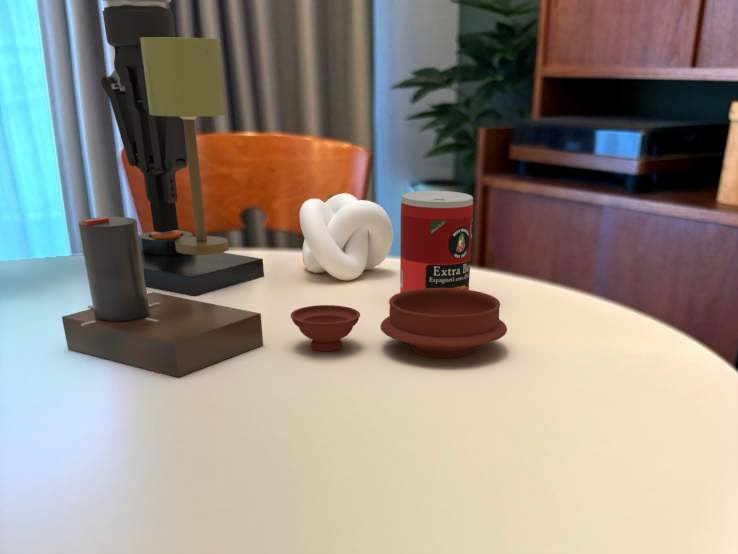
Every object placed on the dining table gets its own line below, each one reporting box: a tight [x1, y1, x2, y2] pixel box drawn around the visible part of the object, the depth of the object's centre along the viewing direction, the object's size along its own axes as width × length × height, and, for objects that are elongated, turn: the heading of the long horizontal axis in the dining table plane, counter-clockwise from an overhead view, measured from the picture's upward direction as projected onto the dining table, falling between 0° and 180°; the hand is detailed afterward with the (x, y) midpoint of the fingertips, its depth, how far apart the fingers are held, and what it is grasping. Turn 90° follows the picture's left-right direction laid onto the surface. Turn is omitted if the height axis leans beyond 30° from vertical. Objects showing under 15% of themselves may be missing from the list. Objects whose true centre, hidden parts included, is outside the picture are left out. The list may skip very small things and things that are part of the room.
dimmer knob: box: [77, 216, 150, 321], centre depth 73 cm, size 5×5×8 cm
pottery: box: [290, 288, 508, 359], centre depth 77 cm, size 12×20×4 cm, turn 90°
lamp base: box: [138, 230, 265, 297], centre depth 100 cm, size 16×12×4 cm
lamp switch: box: [150, 230, 181, 238], centre depth 104 cm, size 4×4×2 cm
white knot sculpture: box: [299, 192, 394, 282], centre depth 101 cm, size 11×12×9 cm
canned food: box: [399, 190, 474, 293], centre depth 90 cm, size 8×8×11 cm
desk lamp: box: [140, 37, 230, 255], centre depth 91 cm, size 8×8×21 cm
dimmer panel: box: [61, 291, 264, 378], centre depth 76 cm, size 14×12×3 cm
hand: (166, 230), depth 103 cm, fingers closed
